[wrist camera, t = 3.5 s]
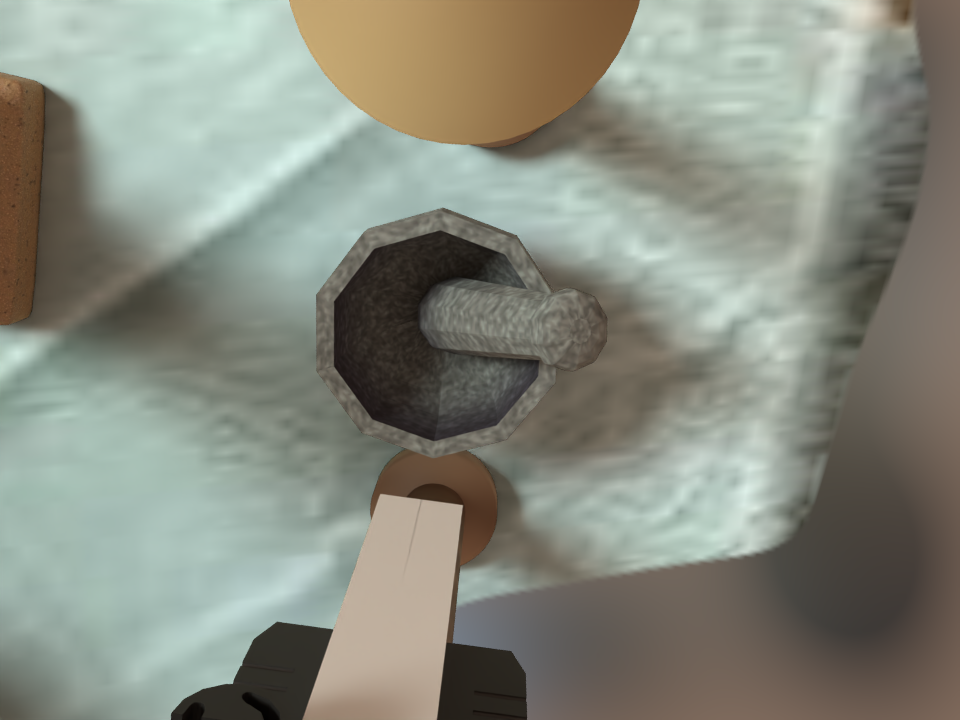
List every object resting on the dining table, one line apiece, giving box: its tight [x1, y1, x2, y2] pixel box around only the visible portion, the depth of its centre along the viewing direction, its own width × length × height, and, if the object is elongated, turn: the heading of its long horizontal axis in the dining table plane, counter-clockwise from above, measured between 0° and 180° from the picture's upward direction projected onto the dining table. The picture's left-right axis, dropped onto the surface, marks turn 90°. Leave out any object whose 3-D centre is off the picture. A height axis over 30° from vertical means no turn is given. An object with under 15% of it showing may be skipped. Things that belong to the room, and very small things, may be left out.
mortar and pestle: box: [316, 208, 607, 458], centre depth 36 cm, size 11×9×12 cm
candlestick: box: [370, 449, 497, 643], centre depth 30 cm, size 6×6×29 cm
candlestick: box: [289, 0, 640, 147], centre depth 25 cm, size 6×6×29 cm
